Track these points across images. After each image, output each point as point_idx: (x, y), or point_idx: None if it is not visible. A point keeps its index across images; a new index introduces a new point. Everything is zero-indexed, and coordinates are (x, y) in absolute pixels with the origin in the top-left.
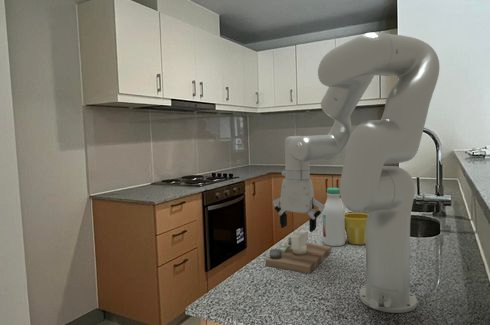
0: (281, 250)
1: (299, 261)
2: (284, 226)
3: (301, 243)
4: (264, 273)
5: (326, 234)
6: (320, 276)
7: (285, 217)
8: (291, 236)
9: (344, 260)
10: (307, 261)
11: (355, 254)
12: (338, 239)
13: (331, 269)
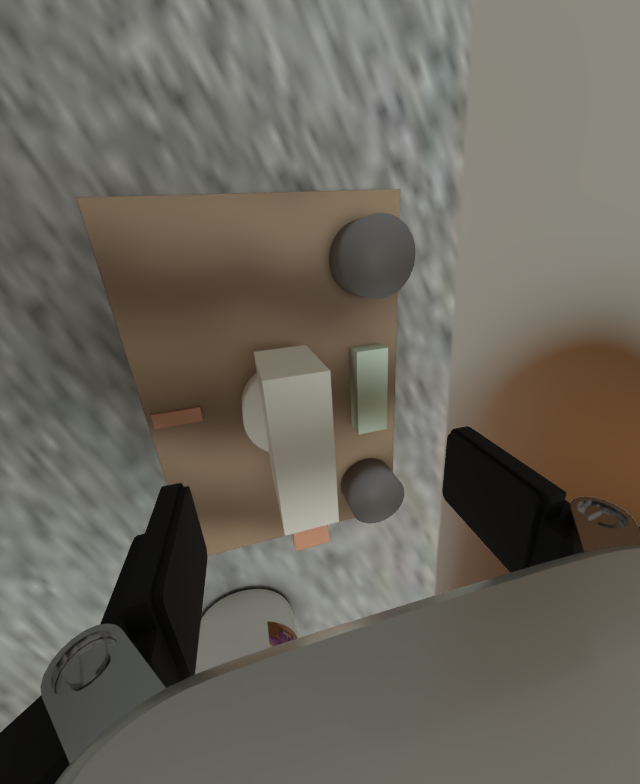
0: (372, 347)
1: (200, 266)
2: (448, 457)
3: (263, 409)
4: (335, 66)
5: (264, 637)
6: (4, 200)
7: (502, 531)
8: (326, 369)
9: (70, 496)
10: (157, 294)
11: (80, 583)
12: (205, 639)
13: (34, 347)
